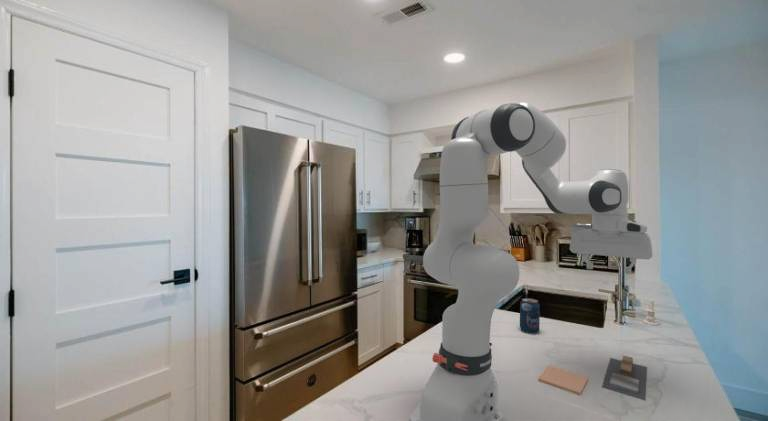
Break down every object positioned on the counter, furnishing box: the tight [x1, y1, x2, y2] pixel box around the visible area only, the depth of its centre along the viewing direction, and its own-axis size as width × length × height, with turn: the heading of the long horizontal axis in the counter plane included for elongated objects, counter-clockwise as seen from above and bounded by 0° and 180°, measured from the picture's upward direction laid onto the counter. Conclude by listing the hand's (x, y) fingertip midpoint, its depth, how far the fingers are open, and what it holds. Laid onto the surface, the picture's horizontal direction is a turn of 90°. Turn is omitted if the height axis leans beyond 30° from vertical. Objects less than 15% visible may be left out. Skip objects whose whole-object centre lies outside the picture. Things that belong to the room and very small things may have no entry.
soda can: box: [519, 297, 541, 335], centre depth 126 cm, size 7×7×12 cm
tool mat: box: [601, 357, 648, 401], centre depth 92 cm, size 22×9×1 cm, turn 140°
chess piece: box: [642, 298, 660, 326], centre depth 137 cm, size 5×5×10 cm
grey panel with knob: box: [610, 355, 639, 394], centre depth 92 cm, size 18×6×2 cm, turn 141°
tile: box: [537, 365, 589, 396], centre depth 90 cm, size 2×10×10 cm
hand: (608, 271), depth 98 cm, fingers open, 8 cm apart
